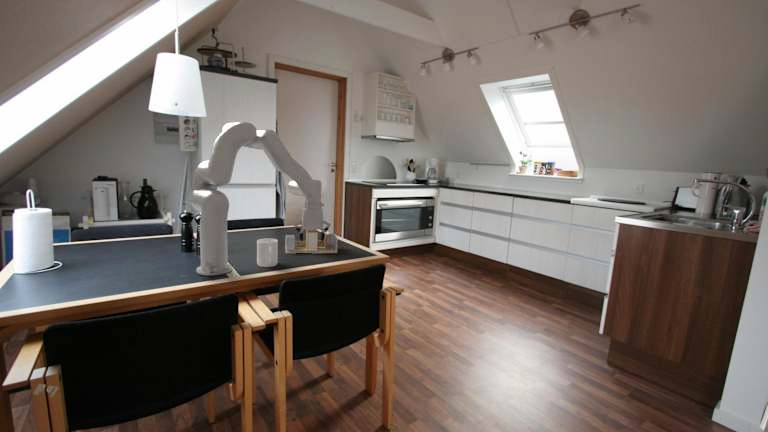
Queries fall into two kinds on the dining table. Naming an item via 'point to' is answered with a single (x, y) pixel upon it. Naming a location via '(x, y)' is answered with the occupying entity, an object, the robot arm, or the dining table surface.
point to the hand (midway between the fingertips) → (312, 240)
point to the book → (311, 240)
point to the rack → (322, 246)
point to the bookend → (290, 242)
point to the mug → (267, 252)
